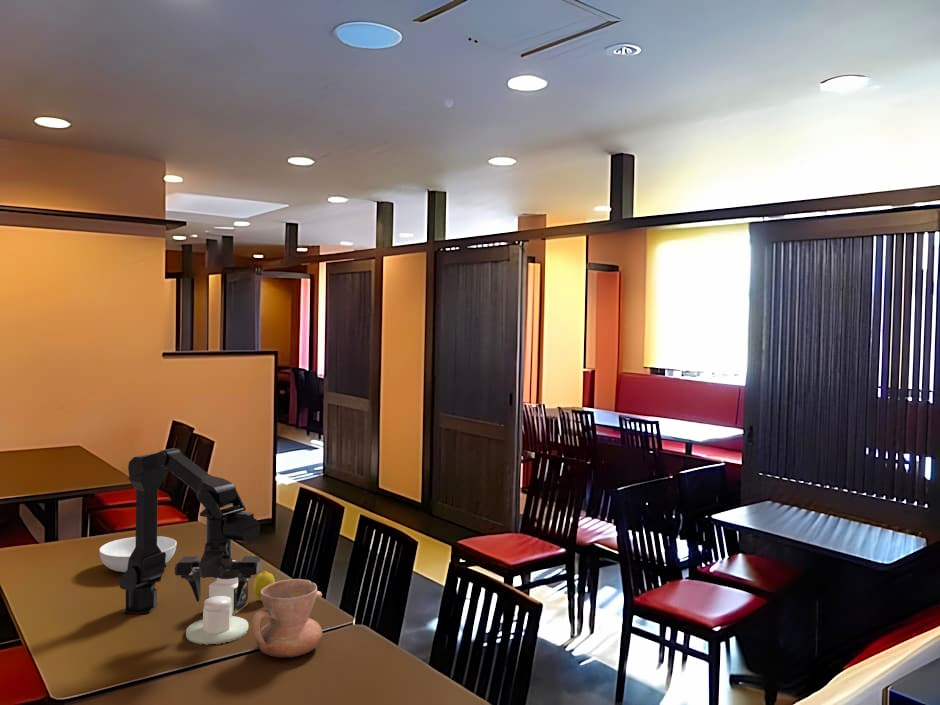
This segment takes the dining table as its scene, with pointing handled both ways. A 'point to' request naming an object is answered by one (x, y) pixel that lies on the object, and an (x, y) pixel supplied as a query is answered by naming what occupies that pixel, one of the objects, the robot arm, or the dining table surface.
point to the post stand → (202, 637)
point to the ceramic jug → (287, 619)
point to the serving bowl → (130, 551)
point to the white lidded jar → (217, 614)
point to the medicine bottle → (230, 589)
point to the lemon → (262, 582)
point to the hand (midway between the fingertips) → (218, 601)
